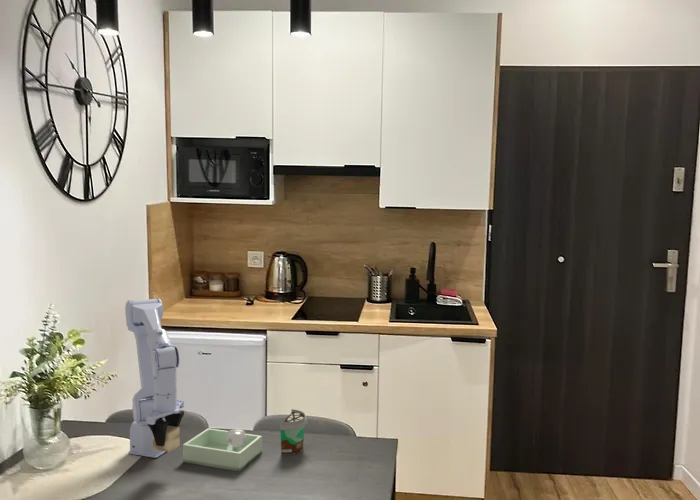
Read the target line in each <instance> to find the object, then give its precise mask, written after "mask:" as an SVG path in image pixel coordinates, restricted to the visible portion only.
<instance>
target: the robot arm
mask: <svg viewBox="0 0 700 500" xmlns="http://www.w3.org/2000/svg"><path fill="white" fill-rule="evenodd" d="M124 309H125V313H124V314H125V322H126V323H125V324H126V327H127V330H128V331H130V332H133V334H134V338H135V342H136V343H135V344H136V345H135V346H136V354H137V360H138V361H137V362H138V368H139V372H138V373H139V379H140V387H141V388H140V389H139V390H138V391H137V392H136V393H135V394H134V395H133V397H132V417H133V420H134V421H132V423H131V425H130V428H129V450H128V454H130V455H131V454H132V455H136V456H141V457H148V458H154V459H157V458H159V457H161V455H163V454H165V453H166V451H159V450H153V436H154V439H155V443H156V446H164V444H165V436H166V430H167V426H175V427H180V424H181V422H182V419H183V417H184V415H185V411H184V410H181V409H183V408H185V400H184V399H183V400H182V399H178V395H177V394H178V392H177V391H178V390H177V385H178V384H177V382H178V381H177V368H179V365H180V353H179V349H178V346H177V345H175V344H172V341H171V339H170V336H169V334H168V332H167V331H166V330H165V329H164V328H162V324H161V322H162V318H163V316H164V305H163V302H162V300H161V298H159V297H157V298H152V299H151V298H149V299H137V300H136V299H135V300H130V299H129V300H127V301H126V303H125V308H124Z"/></svg>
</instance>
